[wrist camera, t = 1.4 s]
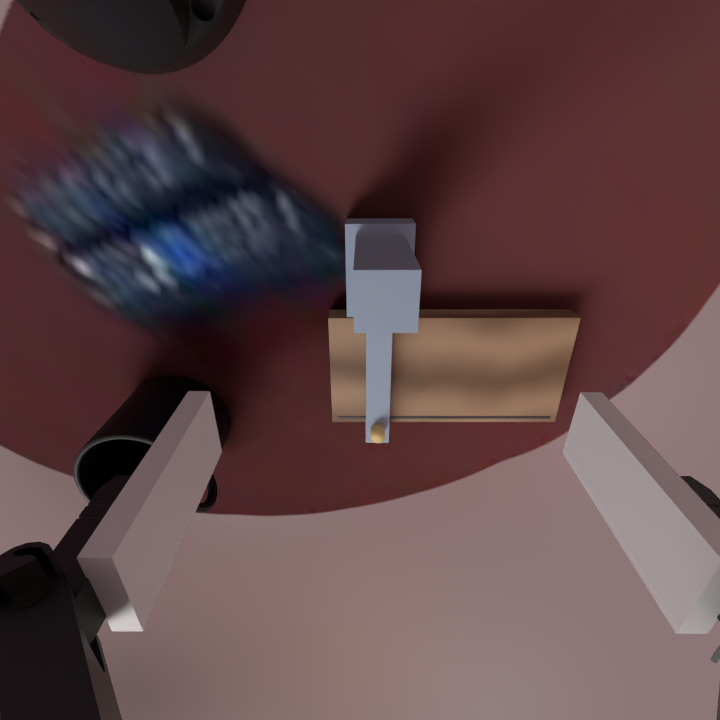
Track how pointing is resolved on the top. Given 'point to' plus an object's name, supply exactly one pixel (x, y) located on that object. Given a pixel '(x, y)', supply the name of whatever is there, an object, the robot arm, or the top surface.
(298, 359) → the top surface
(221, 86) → the top surface
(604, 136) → the top surface
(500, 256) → the top surface
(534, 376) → the board
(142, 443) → the mug
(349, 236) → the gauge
